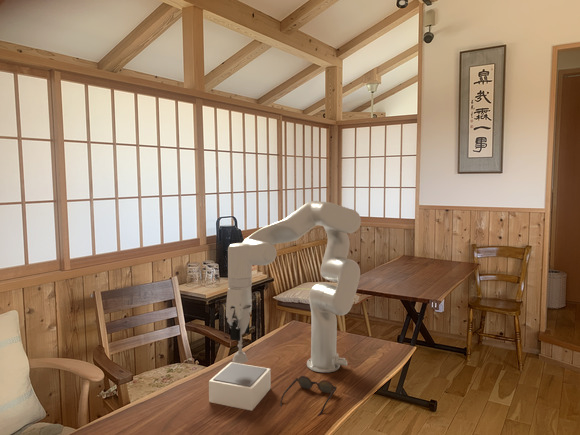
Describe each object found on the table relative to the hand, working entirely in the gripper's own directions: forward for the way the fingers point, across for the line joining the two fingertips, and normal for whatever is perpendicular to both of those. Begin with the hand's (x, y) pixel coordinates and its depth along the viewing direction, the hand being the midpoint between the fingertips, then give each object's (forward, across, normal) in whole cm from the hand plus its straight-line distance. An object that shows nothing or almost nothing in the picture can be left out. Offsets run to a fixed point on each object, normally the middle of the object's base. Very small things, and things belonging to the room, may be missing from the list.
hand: (240, 335), depth 144 cm
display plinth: (+20, 0, 0) cm, 20 cm away
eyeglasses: (+21, -5, +22) cm, 30 cm away
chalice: (+8, 0, 0) cm, 8 cm away
